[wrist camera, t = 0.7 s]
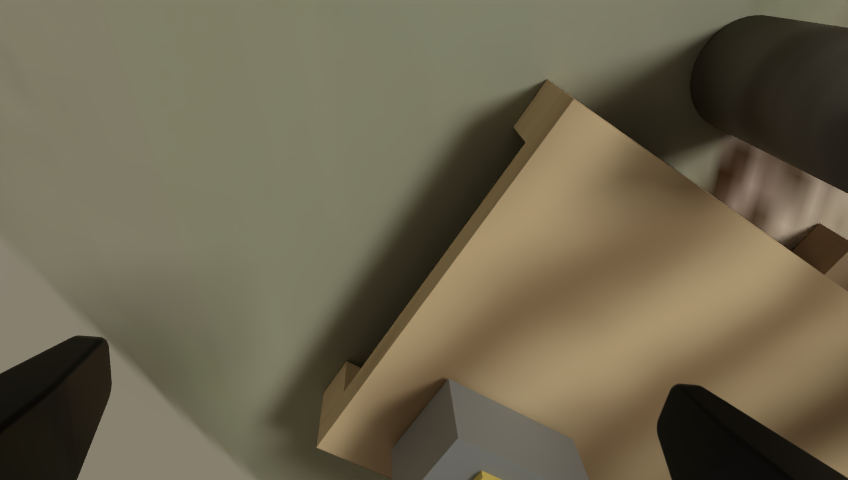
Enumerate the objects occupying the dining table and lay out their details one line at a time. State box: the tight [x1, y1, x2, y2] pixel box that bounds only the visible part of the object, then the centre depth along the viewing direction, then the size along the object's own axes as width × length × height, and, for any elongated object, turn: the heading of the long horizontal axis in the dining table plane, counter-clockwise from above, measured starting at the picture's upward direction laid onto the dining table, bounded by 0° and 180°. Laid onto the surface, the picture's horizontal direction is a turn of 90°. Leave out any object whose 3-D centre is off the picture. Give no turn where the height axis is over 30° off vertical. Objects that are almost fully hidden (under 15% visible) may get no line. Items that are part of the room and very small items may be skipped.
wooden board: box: [316, 80, 848, 480], centre depth 25 cm, size 22×19×3 cm
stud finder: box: [391, 379, 589, 480], centre depth 22 cm, size 6×4×3 cm, turn 57°
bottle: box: [691, 15, 848, 193], centre depth 17 cm, size 4×4×10 cm
